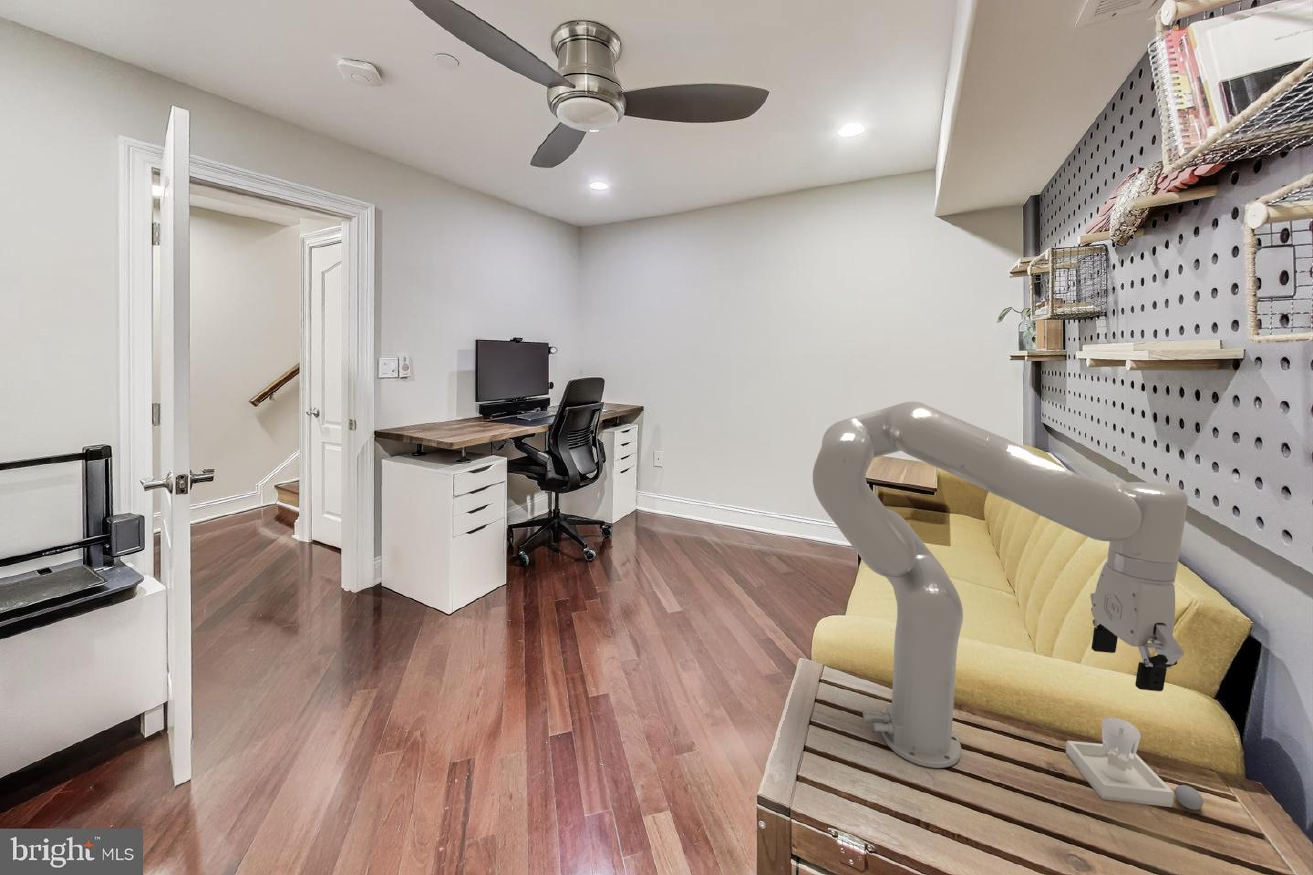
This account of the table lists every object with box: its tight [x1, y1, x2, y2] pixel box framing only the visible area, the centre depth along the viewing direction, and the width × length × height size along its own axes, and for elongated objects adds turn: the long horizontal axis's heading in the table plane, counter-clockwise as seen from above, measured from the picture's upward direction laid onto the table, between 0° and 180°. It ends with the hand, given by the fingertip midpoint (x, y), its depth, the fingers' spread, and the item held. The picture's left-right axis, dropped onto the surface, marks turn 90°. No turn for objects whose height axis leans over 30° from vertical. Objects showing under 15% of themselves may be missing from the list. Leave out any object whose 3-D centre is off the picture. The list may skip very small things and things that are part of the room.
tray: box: [1065, 740, 1175, 808], centre depth 81 cm, size 9×9×2 cm
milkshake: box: [1101, 716, 1141, 782], centre depth 80 cm, size 5×5×10 cm
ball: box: [1173, 784, 1204, 810], centre depth 76 cm, size 3×3×3 cm
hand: (1124, 669), depth 78 cm, fingers open, 9 cm apart
